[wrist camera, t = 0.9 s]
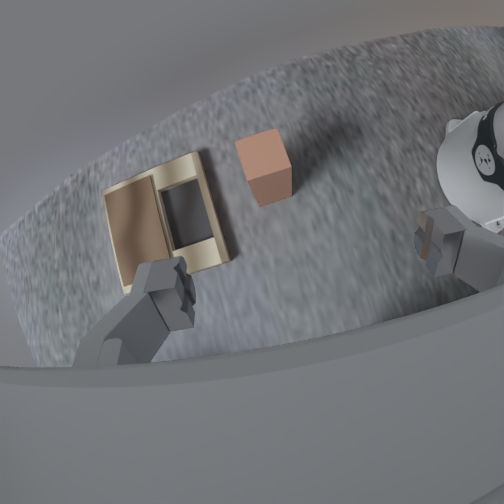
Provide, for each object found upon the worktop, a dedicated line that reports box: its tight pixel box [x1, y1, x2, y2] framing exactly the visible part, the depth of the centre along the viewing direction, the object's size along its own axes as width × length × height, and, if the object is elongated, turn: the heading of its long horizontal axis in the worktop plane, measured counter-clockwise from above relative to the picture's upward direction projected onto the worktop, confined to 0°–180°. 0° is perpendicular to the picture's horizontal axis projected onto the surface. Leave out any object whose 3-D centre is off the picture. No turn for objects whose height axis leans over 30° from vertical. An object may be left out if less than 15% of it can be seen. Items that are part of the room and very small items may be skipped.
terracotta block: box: [235, 128, 292, 207], centre depth 36 cm, size 4×4×12 cm
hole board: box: [102, 151, 231, 294], centre depth 43 cm, size 16×16×2 cm
